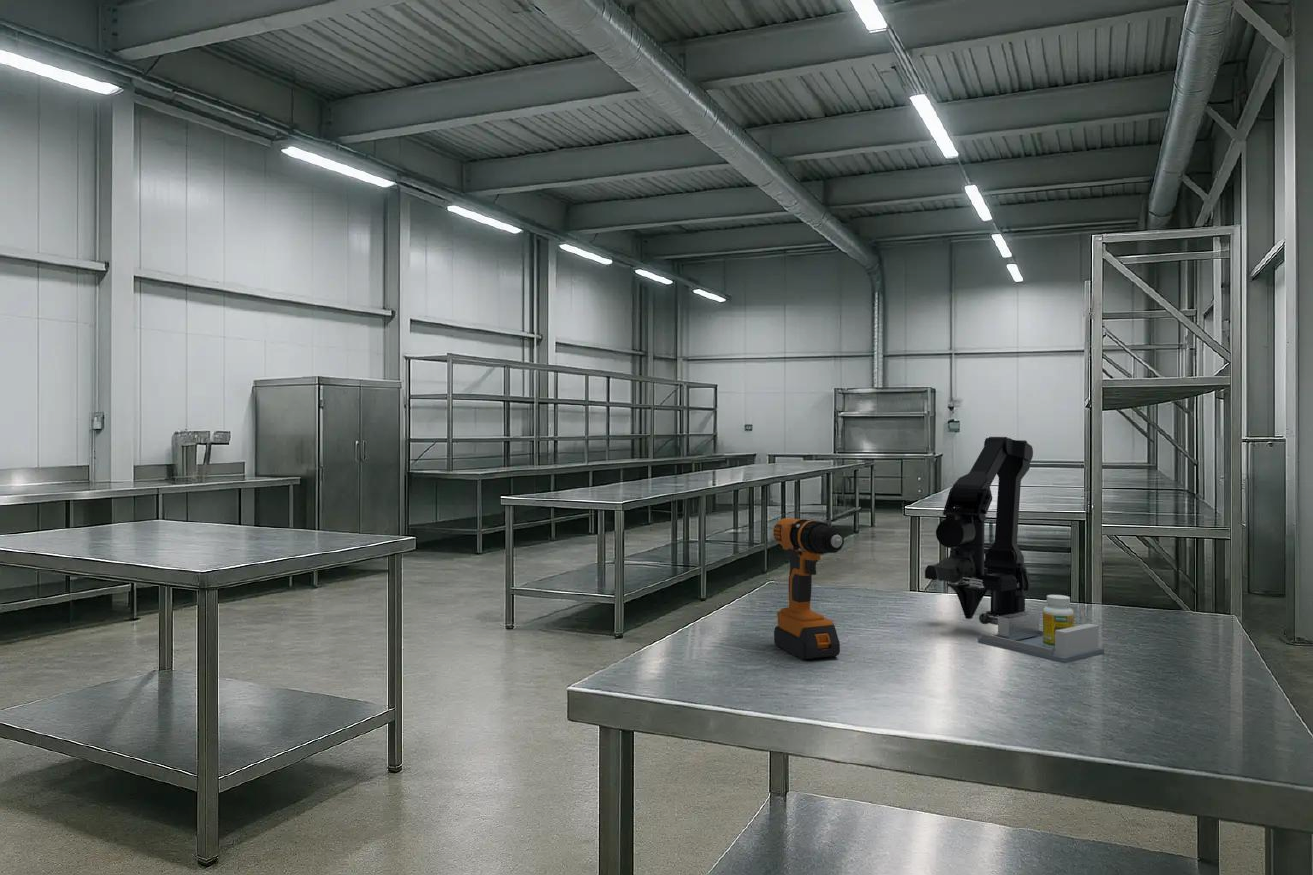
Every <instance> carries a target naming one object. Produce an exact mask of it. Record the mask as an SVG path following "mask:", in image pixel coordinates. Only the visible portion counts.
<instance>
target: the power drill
mask: <svg viewBox="0 0 1313 875" xmlns="http://www.w3.org/2000/svg"><path fill="white" fill-rule="evenodd" d="M772 533H773V538H774V540H775V541H776V542H777V543H778V544H779V545H781V546H782V549H783V551H784V552H785V553H787V554H788V556H789V576H788V606H787V607H782V608H780V610H779V611H777V612H776V617H777V622H776V623H777V625H776V626H775V627H774V630H773V642H774V645H776V646H777V647H779V648H781V649H783V650H784V651H786V652H788V653H789V654H791V655H794V656H795V657H797V658H798V659H799V660H803V661H804V660H812V659H813V660H814V659H823V658H830V657H831V658H832V657H837V656H839V655H840V654H841V653H840V652H841V649H840V648H841V647H840V646H841V644H840V639H839V636H838V633H837V630H836V629H837V628H836V626H835V622H834V621H832V620H831V619H828V618H826V617H825V616H824V615H822V614H820V613H817V612H815V611H813V610H811V600H812V599H811V598H812V582H813V581H812V580H813V579H812V577H813V576H815V575H817V574H818V573H817V566H816V565H817V563H818V562H819V561H820V560H821V555H822V554H823V555H824V554H835V553H838V552H840V550H842V548H843V546H844V543H845V536H844V534H843V532H842V531H841V530H839V529H838V528H836V527H833V526H831V525H829V524H828V523H826V522H822V521H819V520H815V519H806V518H798V519H797V518H788V517H785V518H781V519H780V520H779V521H777V523H776V524H775V525H774V526H773V531H772Z"/></svg>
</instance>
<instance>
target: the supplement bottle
mask: <svg viewBox="0 0 1313 875" xmlns="http://www.w3.org/2000/svg"><path fill="white" fill-rule="evenodd" d="M1046 603H1047V604H1048V605H1046V606H1045V607H1043V610H1042V631H1043V645H1044V647H1046V648H1050V649H1054V650H1055V630H1060V629H1065V628H1069V627H1074V626H1075V613H1074V610H1073V609H1072V608H1071V607H1069V606H1070V605H1071V597H1070V596H1068V595H1062V594H1047V595H1046Z"/></svg>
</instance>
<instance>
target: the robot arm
mask: <svg viewBox="0 0 1313 875" xmlns="http://www.w3.org/2000/svg"><path fill="white" fill-rule="evenodd" d="M1033 457H1034V450H1033V446H1032V445H1031V444H1029V443H1028V441H1027V440H1024V439H1023V440H1022V439H1021V440H1019V439H1017V440H1016V439H1013V438H1011V437H1010V438H1009V437H1007V436H989V437H986V438H984V443H983V447H982V450H981V451H980V453H979V455H978V456H977V458H976V460H975V462H974V463H973V466H972V467H971V468H970V471H969V472H968V473H966V474H965V475H962V476H960V477H958V479H957V480H956V481H955V482H954V483H953V485H952V486H951V488H950V489H949V492H948V495H947V500H946V502H945V505H944V508H943V512H942V515H943V516H945V519H944V520H941V521H940V522H939V523H938V525H937V527H936V529H935V536H936V539H937V541H938V542H939V544H940V545H942V546H943V547H946V548H948V549H950V550H949V556H948V557H944V559H942V560H940V561H939V562H938V563H936V564H935V563H934V564H928V565H927V566H926V568H925V569H924V579H928V580H932V581H939V582H942V581H943V582H944V581H945V582H948V583H946V586H947V587H949V588H951V589H952V590H953V591H954V592H955V594H956V596H957V598H958V600H959V602H960V606H961V610H962V612H963V614H964V617H965V619H966V620H971V619H973V618H974V617H973V616H974V615H975V613H976V611H977V609H978V607H979V606H980V603H981V602H982V599H983V598H984V597H985V595H986V593H987V592H988V591H990V610H988V611H987V610H986V611H985V613H986V614H988V615H992V616H995V617H996V616H997V617H998V616H1003V615H1009V614H1014V613H1020V612H1025V610H1026V596H1025V595H1024V591H1026V592H1027V591H1030V588H1031V578H1030V575H1029V572H1028V570H1027V567H1026V565H1025V558H1024V557H1025V556H1024V555H1023V552H1022V550H1021V549H1020V547H1019V546H1018V533H1019V531H1018V530H1019V516H1020V515H1019V514H1020V504H1021V503H1020V502H1021V500H1020V499H1021V486H1022V485H1021V483H1022V479H1023V478H1024V476H1026V474H1027V472H1028V471H1029V470H1030V466H1031V461H1032V460H1033ZM996 476H997V477H998V485H997V501H996V502H997V503H996V515H995V516H996V517H995V528H994V529H995V530H994V541H993V543H992V544H991V546H990V547H988V548H986V547H985V527H986V526H985V523H986V522H985V521H987V516H986V514H988V510H989V509H990V506H991V504H992V501H993V493H992V490H991V486H992V483H993V482H994V479H995V477H996Z"/></svg>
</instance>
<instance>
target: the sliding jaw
mask: <svg viewBox="0 0 1313 875" xmlns="http://www.w3.org/2000/svg"><path fill="white" fill-rule="evenodd" d="M978 620H979V622H980V623H981V624H982V625H988V624H990V625H995V626H997V634H998V637H1002V638H1006V639H1010V640H1019V639H1023V638H1028V637H1033V636H1038V635H1039V630H1040V612H1035V611H1031V610H1026V611H1025V612H1020V613H1014V614H1009V615H1003V616H997V617H996V616H990V614H986V612H985V613H980V614H979V617H978Z"/></svg>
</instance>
